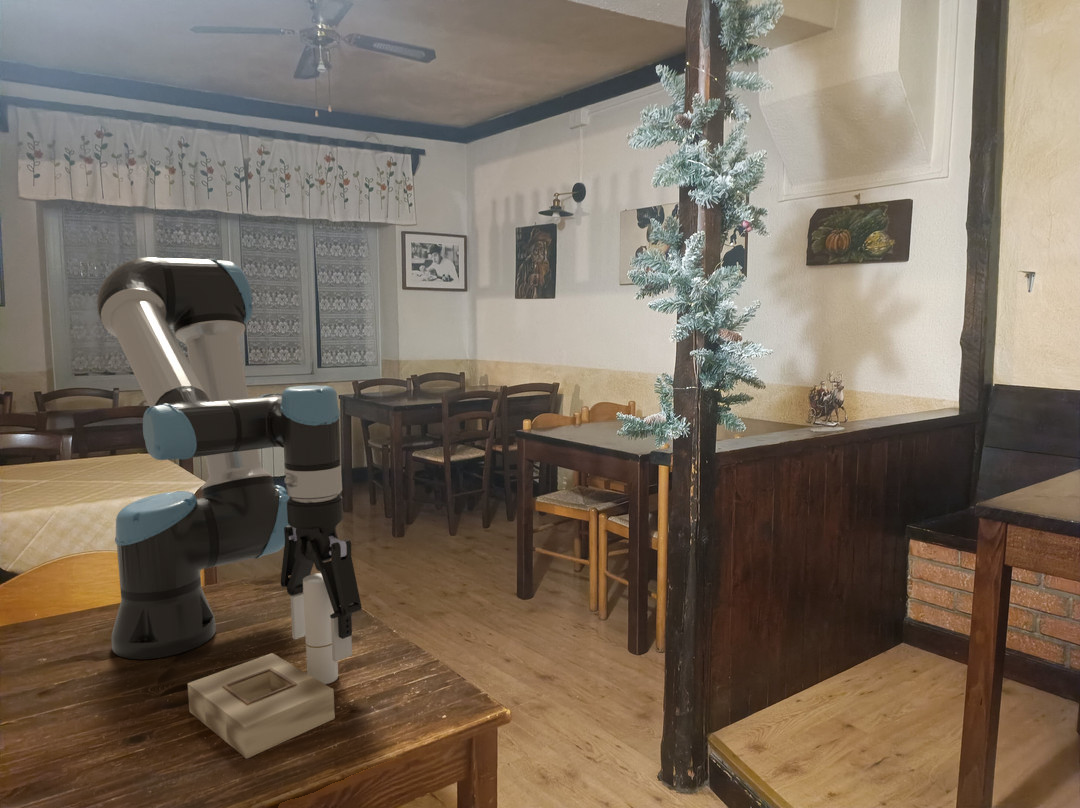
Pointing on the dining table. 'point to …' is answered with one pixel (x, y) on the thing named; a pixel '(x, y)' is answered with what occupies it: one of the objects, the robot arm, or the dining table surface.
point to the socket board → (260, 703)
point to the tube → (318, 630)
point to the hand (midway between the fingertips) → (321, 646)
